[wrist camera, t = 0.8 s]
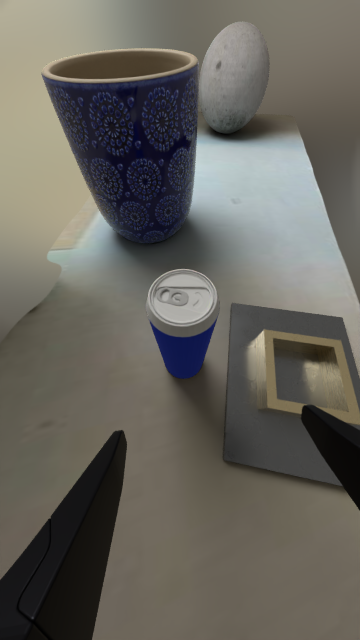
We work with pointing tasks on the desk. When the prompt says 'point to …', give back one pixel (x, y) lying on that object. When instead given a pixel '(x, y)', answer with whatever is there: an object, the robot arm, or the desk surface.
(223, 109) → the moon model
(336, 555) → the desk surface
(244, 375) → the plate
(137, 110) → the planter
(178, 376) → the beverage can
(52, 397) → the desk surface
